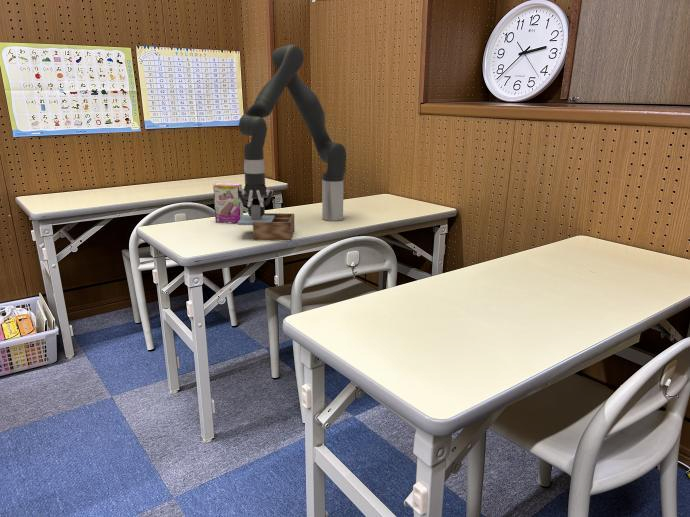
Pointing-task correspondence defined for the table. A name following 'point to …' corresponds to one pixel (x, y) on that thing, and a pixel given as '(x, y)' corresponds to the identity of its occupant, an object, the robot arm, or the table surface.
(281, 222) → the wooden box
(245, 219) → the lid
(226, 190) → the candy bar box
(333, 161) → the robot arm
